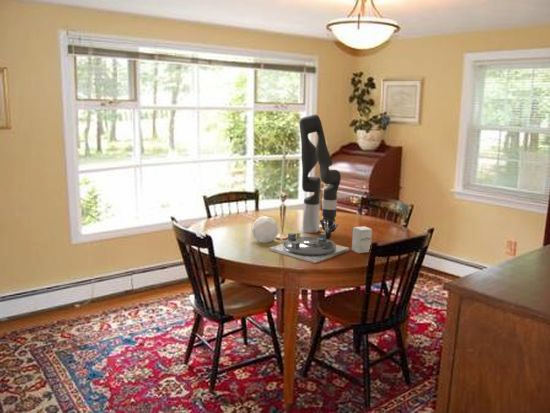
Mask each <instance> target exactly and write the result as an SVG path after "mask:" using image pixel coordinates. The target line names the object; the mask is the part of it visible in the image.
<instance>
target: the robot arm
mask: <svg viewBox="0 0 550 413" xmlns="http://www.w3.org/2000/svg"><path fill="white" fill-rule="evenodd" d="M298 124H299V125H298V126H299V133H300V134H299V135H300V141H301V144H300V145H301V168H302V170H301V171H302V172H301V173H302V175H301V176H302V177H301V188H302V191H303V192H305V193H313V195H310V196H307V197H305V198H304V199H303V215H302V216H303V219H302V220H303V221H302V231H303V232H304V233H308V234H309V233H310V234H313V233H315V234H316V233H318V232H319V231H320V225H321V228H322V230H323V231H324V233H325V234H326V239H328V240H331V238H332V233H335V231H336V230H337V228H338V225H339V224H338V223H336V220H335V219H336V217H337V210H338V209H337V207H338V202H337V196H338V190H339V187H340V185H341V184H340V183H341V180H342V179H341V178H342V176H341V173H340V171H339V170H337V169H330V167H332V165H333V159H332V158H331V155H330V152H329V149H328V146H327V142H326V137H325V132H324V129H323V125H322V121H321V118H320V117H319V115H318V114H312V115H308V116H303V117H301V118H300V119H299V122H298ZM312 133H317V134H316V135H317V142H316V145H315V144H314V143H312V141H311V140H310V139H309V135H310V134H312ZM317 164H318V165H319V173H320V174H319V175H320V177H319V176H309V174H310V173H311V172H312V170H313V169H314V168H315V166H316V165H317ZM322 182H323V184H326V185H328V186H327V187H326V188H324V189H323V197H322V198H323V199H322V209H321V210H322V212H321V213H322V214H321V216H320V193H321V183H322ZM320 217H322V219H320Z"/></svg>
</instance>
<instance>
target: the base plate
mask: <svg viewBox="0 0 550 413" xmlns="http://www.w3.org/2000/svg"><path fill="white" fill-rule="evenodd" d="M296 237H301V232H296ZM268 249H269V250H268V251H270V252H274V253H277V254H280V255H284V256H289V257H291V258H295V259H298V260H303V261H306V262H310V263H313V264H314V263H315V264H317V263H320V262H322V261H323V262H324V261H325V260H328V259H330V258H333V257H336V256H338V255H341V254H344V253H346V252H349V251H350V247H347V246H344V245H339V244H336V250H335V251H334V252H332V253H329V254H323V255H303V254H297V253H293V252H290V251H287V250H286V249H284V247H283V243H281V244H280V243H279V244H277V245H275V246H270V247H269V248H268Z"/></svg>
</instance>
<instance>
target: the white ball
mask: <svg viewBox="0 0 550 413" xmlns="http://www.w3.org/2000/svg"><path fill="white" fill-rule="evenodd" d="M251 232H252V235H253V237H254V239H256V241H257V242H261V243H264V244H267V243H270V242H273V241H274V240H275V239H276V238H277V236H278V232H279V228H278V223H277V221H276V220H275V219H273V218H272V217H271V216H270V217H269V216H266V215H263V216H260V217H258V218H256V220H255V221H254V222H253V223H252V227H251Z"/></svg>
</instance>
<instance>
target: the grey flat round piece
mask: <svg viewBox="0 0 550 413" xmlns="http://www.w3.org/2000/svg"><path fill="white" fill-rule="evenodd" d="M282 244H283V247H284V249H286V250H287V251H290V252H293V253H297V254H303V255H323V254H329V253H332V252H334V251H335V250H336V245H337V244H336V242H334V241H333V240H331V239H326V232H321V233H319V234H318V236H317V237H316V236H300V237H297V233H295V232H290V233H287V239H285V240H283V243H282Z"/></svg>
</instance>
